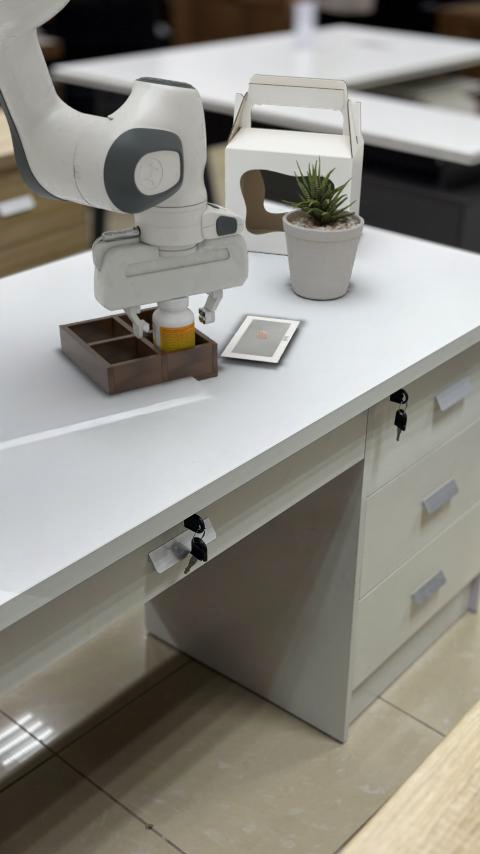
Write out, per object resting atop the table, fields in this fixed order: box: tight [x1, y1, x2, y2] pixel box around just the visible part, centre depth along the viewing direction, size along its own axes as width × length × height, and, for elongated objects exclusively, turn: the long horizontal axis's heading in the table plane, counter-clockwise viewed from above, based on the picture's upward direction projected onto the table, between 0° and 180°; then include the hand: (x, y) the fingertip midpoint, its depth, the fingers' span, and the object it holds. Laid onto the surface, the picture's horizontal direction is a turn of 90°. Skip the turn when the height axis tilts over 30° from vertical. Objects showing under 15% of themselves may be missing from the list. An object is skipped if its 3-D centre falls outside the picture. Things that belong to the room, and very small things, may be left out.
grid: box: [58, 305, 219, 396], centre depth 125 cm, size 15×15×5 cm
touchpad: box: [220, 315, 301, 364], centre depth 133 cm, size 8×15×2 cm, turn 167°
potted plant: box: [280, 157, 365, 301], centre depth 147 cm, size 13×14×20 cm
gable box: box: [224, 73, 365, 256], centre depth 164 cm, size 22×13×28 cm, turn 77°
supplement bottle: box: [152, 296, 196, 353], centre depth 122 cm, size 5×5×10 cm
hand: (174, 329), depth 122 cm, fingers open, 8 cm apart
